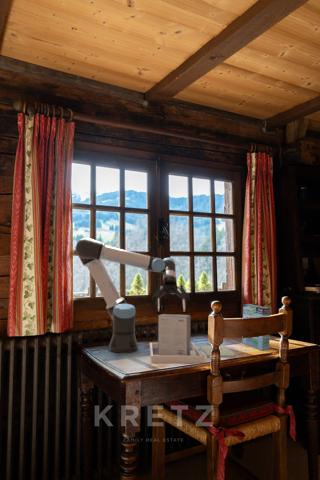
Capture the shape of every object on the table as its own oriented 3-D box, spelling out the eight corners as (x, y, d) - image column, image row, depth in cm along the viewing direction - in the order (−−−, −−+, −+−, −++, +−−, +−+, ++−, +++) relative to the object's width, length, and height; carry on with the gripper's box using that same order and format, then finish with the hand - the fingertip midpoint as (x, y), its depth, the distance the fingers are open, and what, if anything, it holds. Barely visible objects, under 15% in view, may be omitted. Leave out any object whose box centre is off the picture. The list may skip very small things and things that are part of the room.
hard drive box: (190, 354, 184) (191, 315, 185) (187, 358, 177) (187, 317, 178) (161, 351, 189) (162, 313, 190) (157, 355, 182) (157, 315, 183)
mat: (206, 357, 180) (206, 355, 180) (200, 347, 200) (200, 345, 200) (234, 357, 180) (234, 355, 180) (225, 347, 200) (225, 346, 200)
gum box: (242, 343, 212) (242, 304, 214) (249, 342, 214) (249, 303, 216) (262, 351, 194) (262, 308, 196) (270, 350, 196) (270, 307, 197)
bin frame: (151, 362, 168) (151, 356, 168) (149, 348, 196) (149, 342, 196) (202, 362, 169) (202, 356, 170) (193, 348, 197) (193, 343, 198)
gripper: (190, 284, 210) (194, 314, 194) (147, 284, 209) (147, 314, 193) (192, 275, 205) (195, 305, 189) (148, 275, 204) (148, 305, 188)
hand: (171, 310), depth 191 cm, fingers open, 13 cm apart
